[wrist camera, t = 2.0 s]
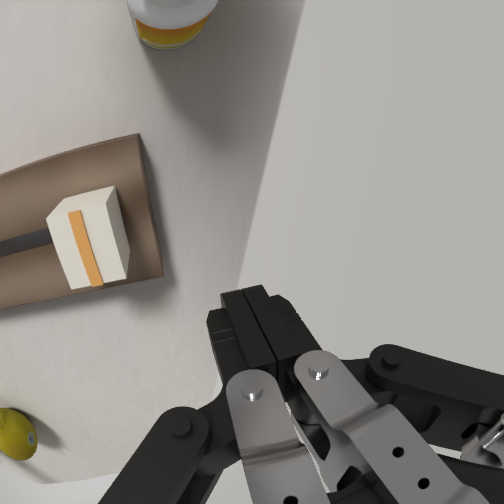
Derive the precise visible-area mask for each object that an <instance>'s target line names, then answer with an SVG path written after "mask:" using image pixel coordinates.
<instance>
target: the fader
mask: <svg viewBox="0 0 504 504" xmlns="http://www.w3.org/2000/svg"><path fill="white" fill-rule="evenodd" d="M46 221H47V224H48V227H49V230H50V234H51V237H52V240H53V243H54V245H55V248H56V251H57V254H58V257H59V259H60V262H61V265H62V267H63V270H64V273H65V275H66V278H67V280H68V282H69V285H70V287H71V290H72V289H77V288H82V287H87V286H92V287H95V286H100V285H103V283H107V282H112V281H116V280H121V279H126V278H127V270H128V262H129V255H130V247H129V244H128V240H127V236H126V232H125V228H124V224H123V220H122V216H121V211H120V207H119V202H118V198H117V193H116V188H115V186H111V187H107V188H102V189H98V190H94V191H90V192H86V193H82V194H78V195H75V196H71V197H67V198H64V199H63V200H62V201H61V202H60V203H59V204H58V205H57V207H56V208H55V209H54V210H53V211H52V212H51V213H50V215H49V216H48V217H47V218H46Z"/></svg>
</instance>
